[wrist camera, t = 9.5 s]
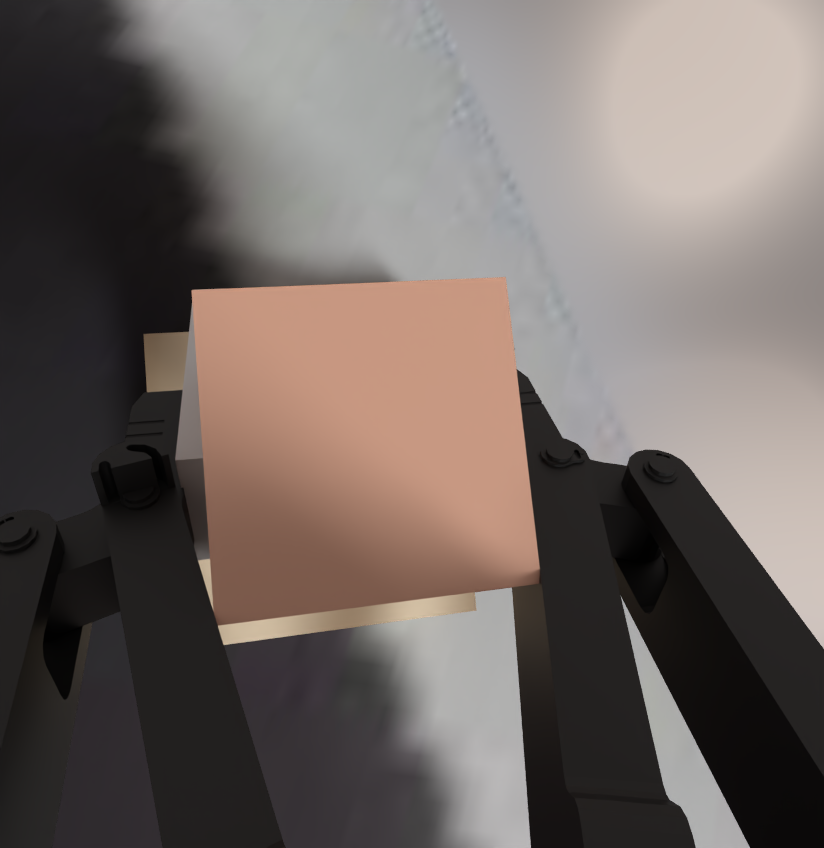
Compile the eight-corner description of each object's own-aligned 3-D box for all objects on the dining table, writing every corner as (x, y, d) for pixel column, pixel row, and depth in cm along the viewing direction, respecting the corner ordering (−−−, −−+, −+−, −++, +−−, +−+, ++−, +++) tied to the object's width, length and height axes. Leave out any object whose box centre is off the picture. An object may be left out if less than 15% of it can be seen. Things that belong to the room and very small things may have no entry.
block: (253, 562, 21) (214, 625, 10) (241, 400, 21) (191, 290, 10) (415, 544, 21) (541, 583, 11) (399, 389, 22) (505, 277, 11)
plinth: (179, 632, 29) (163, 653, 25) (161, 356, 30) (143, 334, 26) (452, 596, 31) (476, 610, 27) (426, 341, 32) (445, 318, 28)
